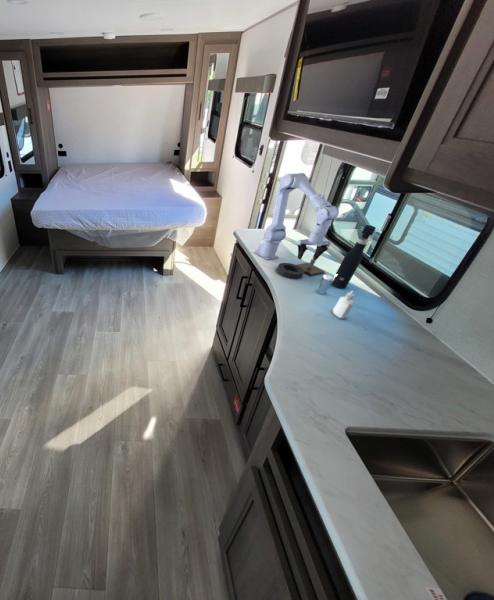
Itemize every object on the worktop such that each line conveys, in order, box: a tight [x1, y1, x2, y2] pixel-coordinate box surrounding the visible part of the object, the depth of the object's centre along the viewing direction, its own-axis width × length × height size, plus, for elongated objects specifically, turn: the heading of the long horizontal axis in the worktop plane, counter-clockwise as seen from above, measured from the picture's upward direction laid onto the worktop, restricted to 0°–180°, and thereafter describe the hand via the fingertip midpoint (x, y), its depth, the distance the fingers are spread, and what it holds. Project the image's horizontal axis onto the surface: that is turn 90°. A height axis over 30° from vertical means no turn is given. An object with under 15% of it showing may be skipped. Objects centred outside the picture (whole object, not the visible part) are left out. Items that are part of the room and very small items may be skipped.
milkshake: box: [316, 274, 338, 295], centre depth 140 cm, size 4×5×10 cm
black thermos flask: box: [330, 224, 377, 290], centre depth 141 cm, size 6×6×30 cm
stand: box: [296, 258, 325, 277], centre depth 159 cm, size 10×10×6 cm
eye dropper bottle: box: [332, 290, 355, 320], centre depth 126 cm, size 4×6×12 cm
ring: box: [275, 262, 305, 280], centre depth 157 cm, size 12×12×3 cm
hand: (306, 258), depth 150 cm, fingers open, 7 cm apart
